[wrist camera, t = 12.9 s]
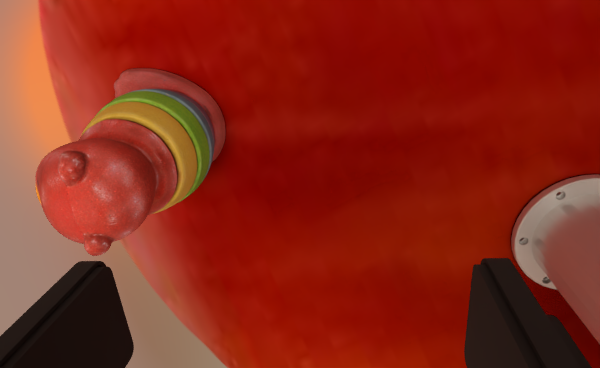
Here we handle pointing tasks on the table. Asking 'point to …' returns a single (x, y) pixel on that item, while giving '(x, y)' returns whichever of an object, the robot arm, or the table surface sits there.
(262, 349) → the table surface
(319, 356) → the table surface
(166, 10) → the table surface
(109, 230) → the stacking bear
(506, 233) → the table surface
